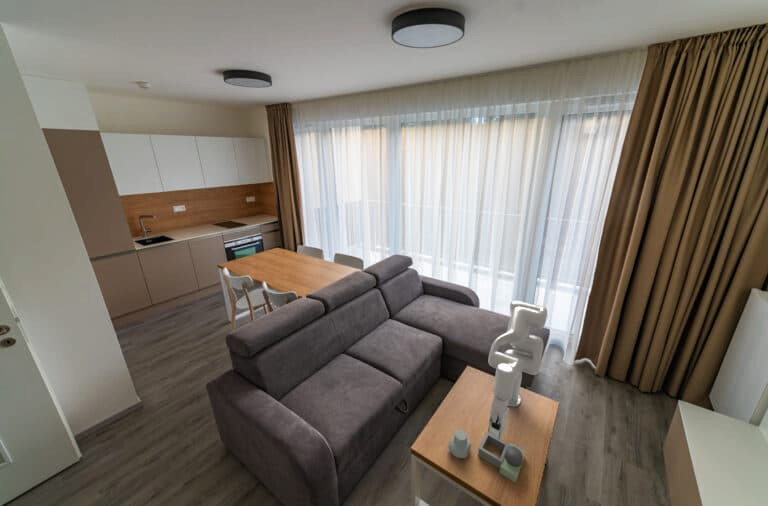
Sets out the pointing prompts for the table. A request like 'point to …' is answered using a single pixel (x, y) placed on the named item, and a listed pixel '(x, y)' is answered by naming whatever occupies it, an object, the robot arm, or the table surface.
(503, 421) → the syrup box
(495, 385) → the robot arm
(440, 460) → the table surface
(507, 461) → the grey square sleeve
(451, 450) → the air freshener
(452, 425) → the table surface
